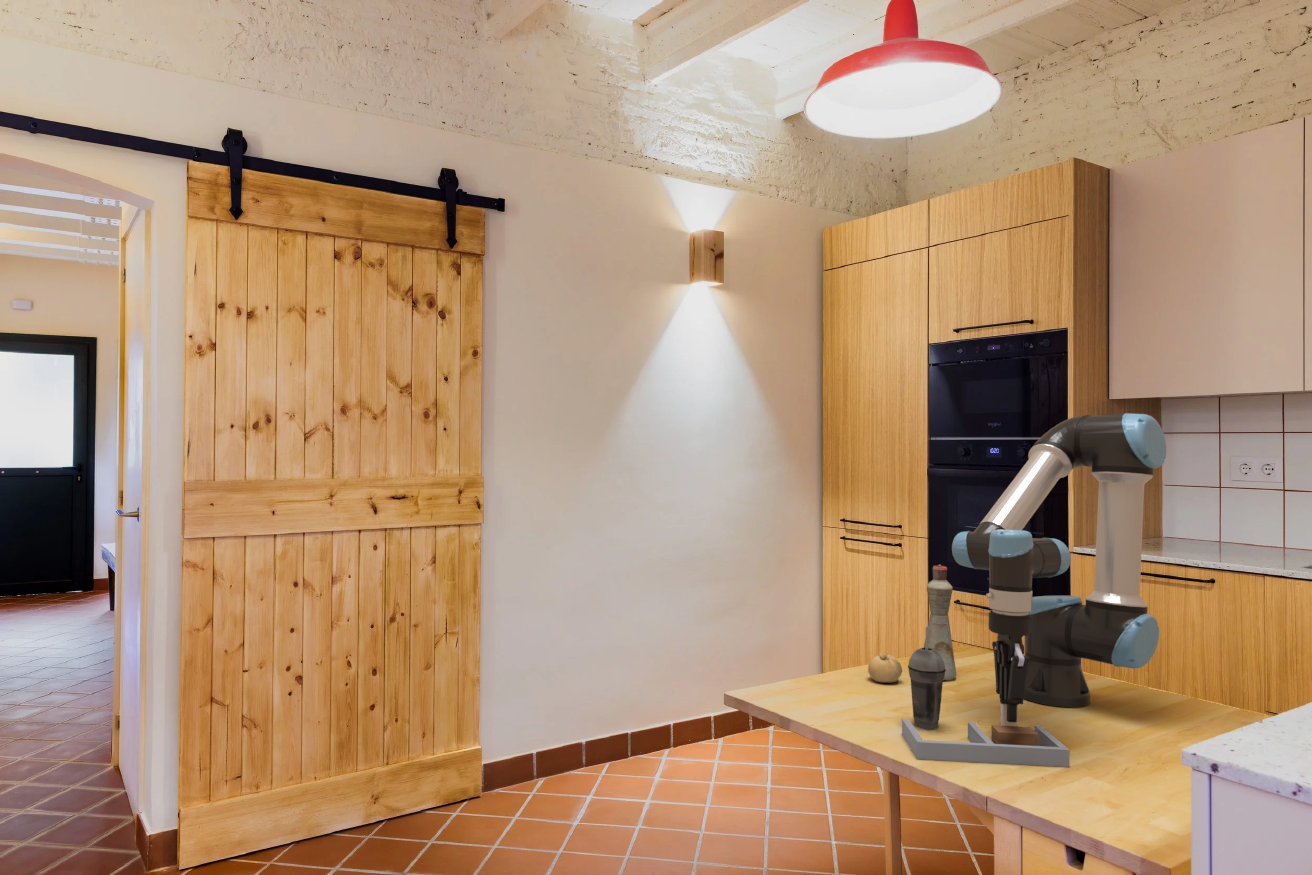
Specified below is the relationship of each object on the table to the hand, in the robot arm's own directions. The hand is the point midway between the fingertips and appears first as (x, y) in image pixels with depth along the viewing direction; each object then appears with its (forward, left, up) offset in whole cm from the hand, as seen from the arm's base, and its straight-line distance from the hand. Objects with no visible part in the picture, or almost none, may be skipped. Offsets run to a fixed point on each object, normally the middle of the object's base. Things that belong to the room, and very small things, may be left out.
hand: (1009, 737), depth 151 cm
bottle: (+1, -48, -2) cm, 48 cm away
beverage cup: (+13, -9, -2) cm, 16 cm away
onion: (+15, -42, -2) cm, 45 cm away
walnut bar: (0, +3, -2) cm, 3 cm away
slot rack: (+6, +3, -1) cm, 7 cm away
